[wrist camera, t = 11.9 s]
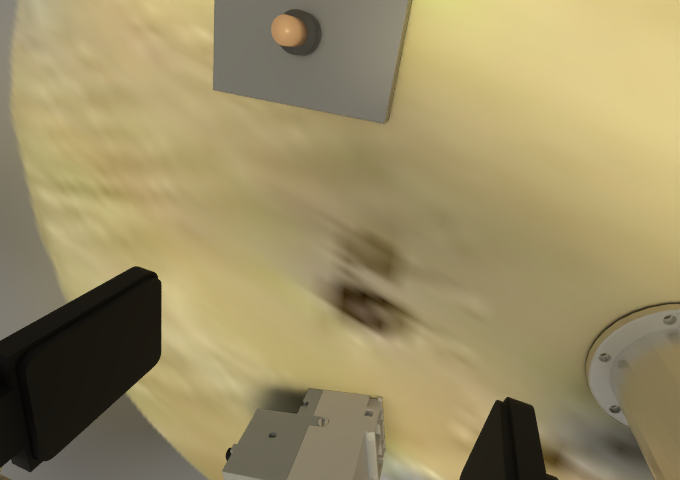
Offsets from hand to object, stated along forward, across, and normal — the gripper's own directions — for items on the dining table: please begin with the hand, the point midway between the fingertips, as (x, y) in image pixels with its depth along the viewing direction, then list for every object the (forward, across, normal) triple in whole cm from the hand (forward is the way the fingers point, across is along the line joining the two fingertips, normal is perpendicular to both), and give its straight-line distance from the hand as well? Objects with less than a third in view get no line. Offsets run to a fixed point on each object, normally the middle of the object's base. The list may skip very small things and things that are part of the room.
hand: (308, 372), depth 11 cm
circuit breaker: (+26, +3, +30) cm, 39 cm away
